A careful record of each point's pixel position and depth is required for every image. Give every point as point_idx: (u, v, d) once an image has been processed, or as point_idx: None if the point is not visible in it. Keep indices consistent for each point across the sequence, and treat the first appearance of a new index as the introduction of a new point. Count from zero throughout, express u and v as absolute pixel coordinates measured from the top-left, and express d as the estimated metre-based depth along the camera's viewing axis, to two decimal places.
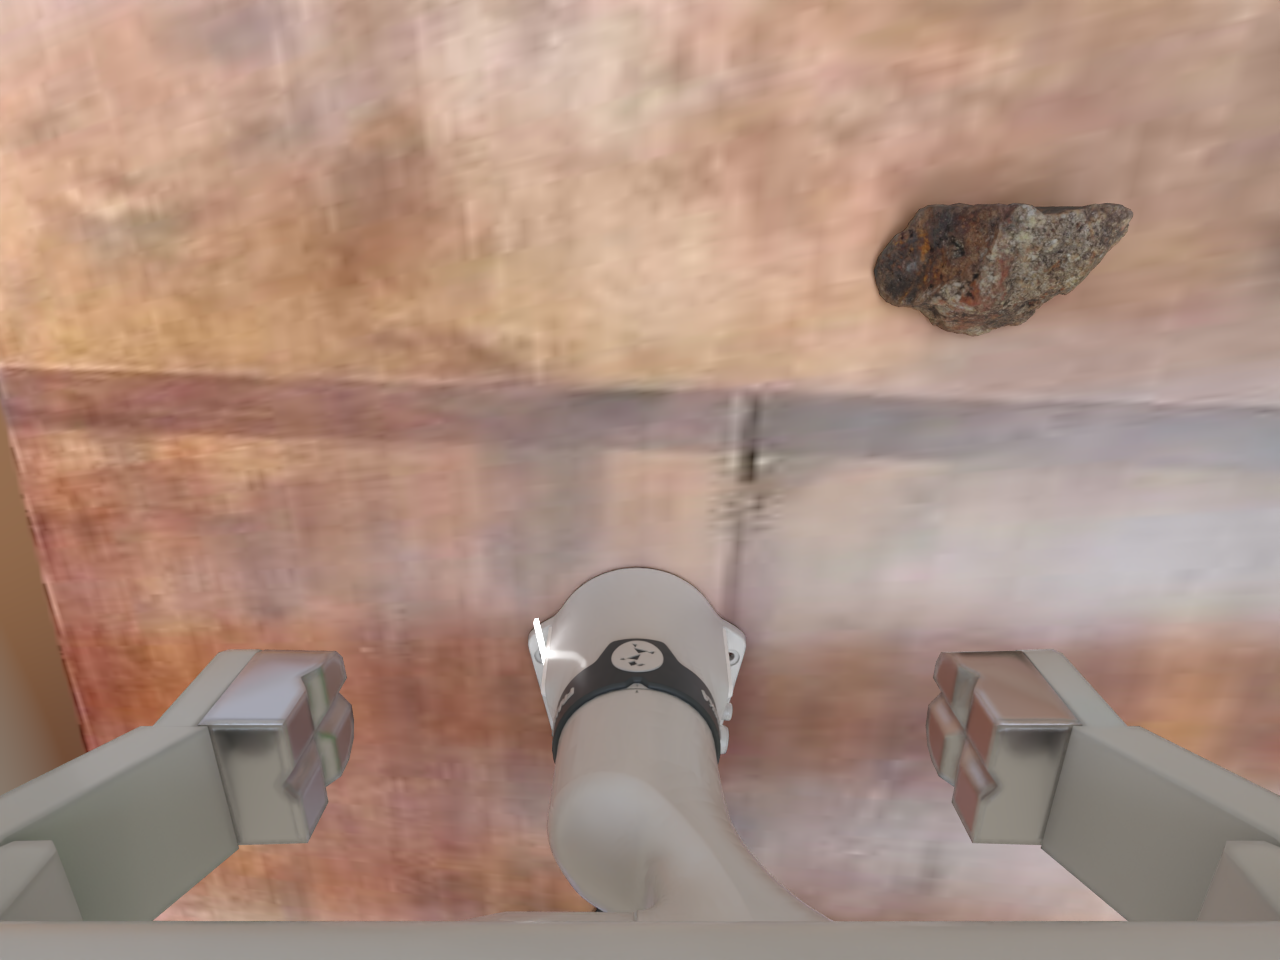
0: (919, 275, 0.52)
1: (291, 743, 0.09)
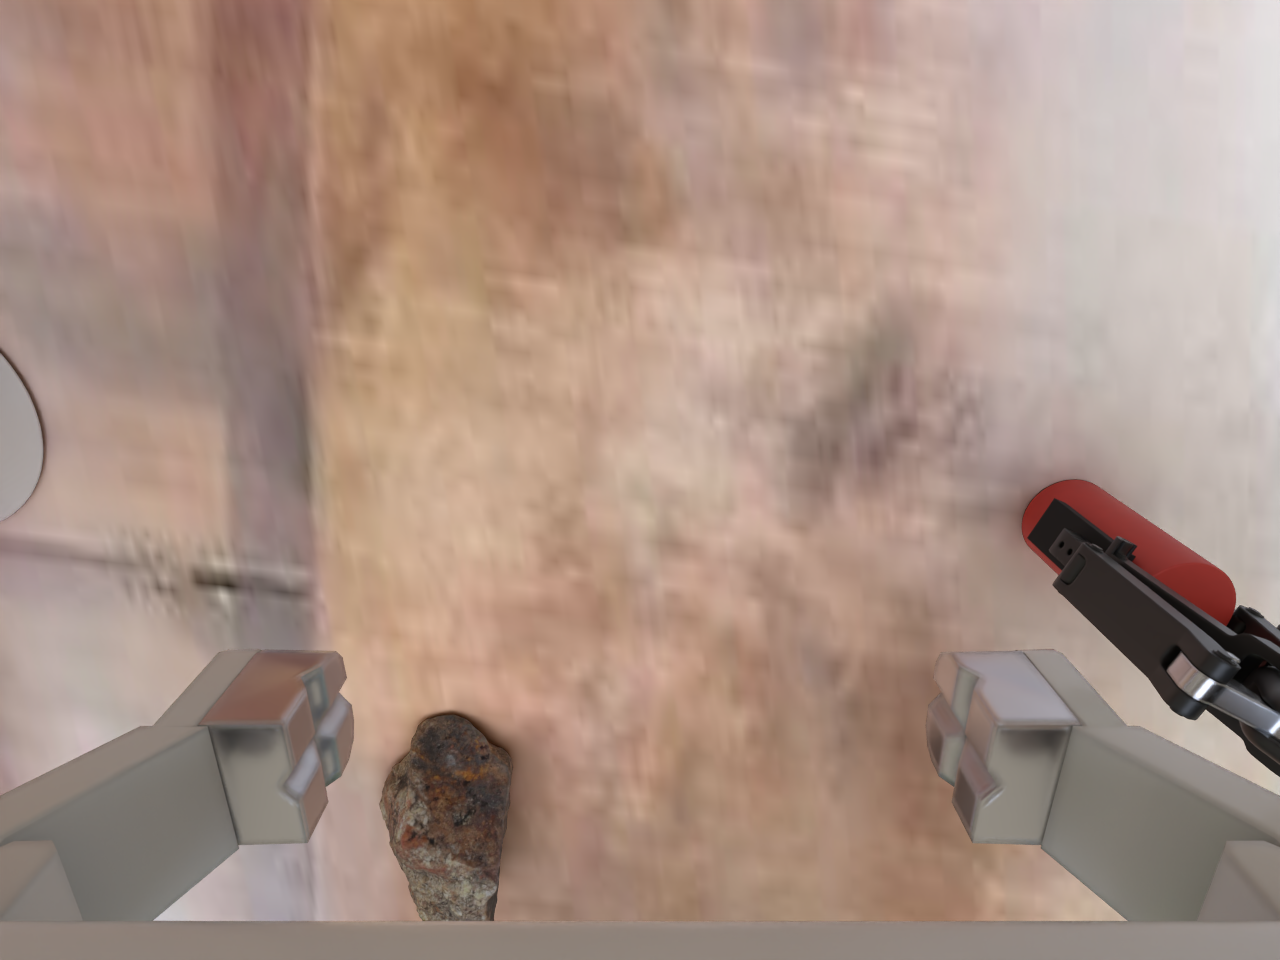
0: (440, 770, 0.49)
1: (291, 742, 0.09)
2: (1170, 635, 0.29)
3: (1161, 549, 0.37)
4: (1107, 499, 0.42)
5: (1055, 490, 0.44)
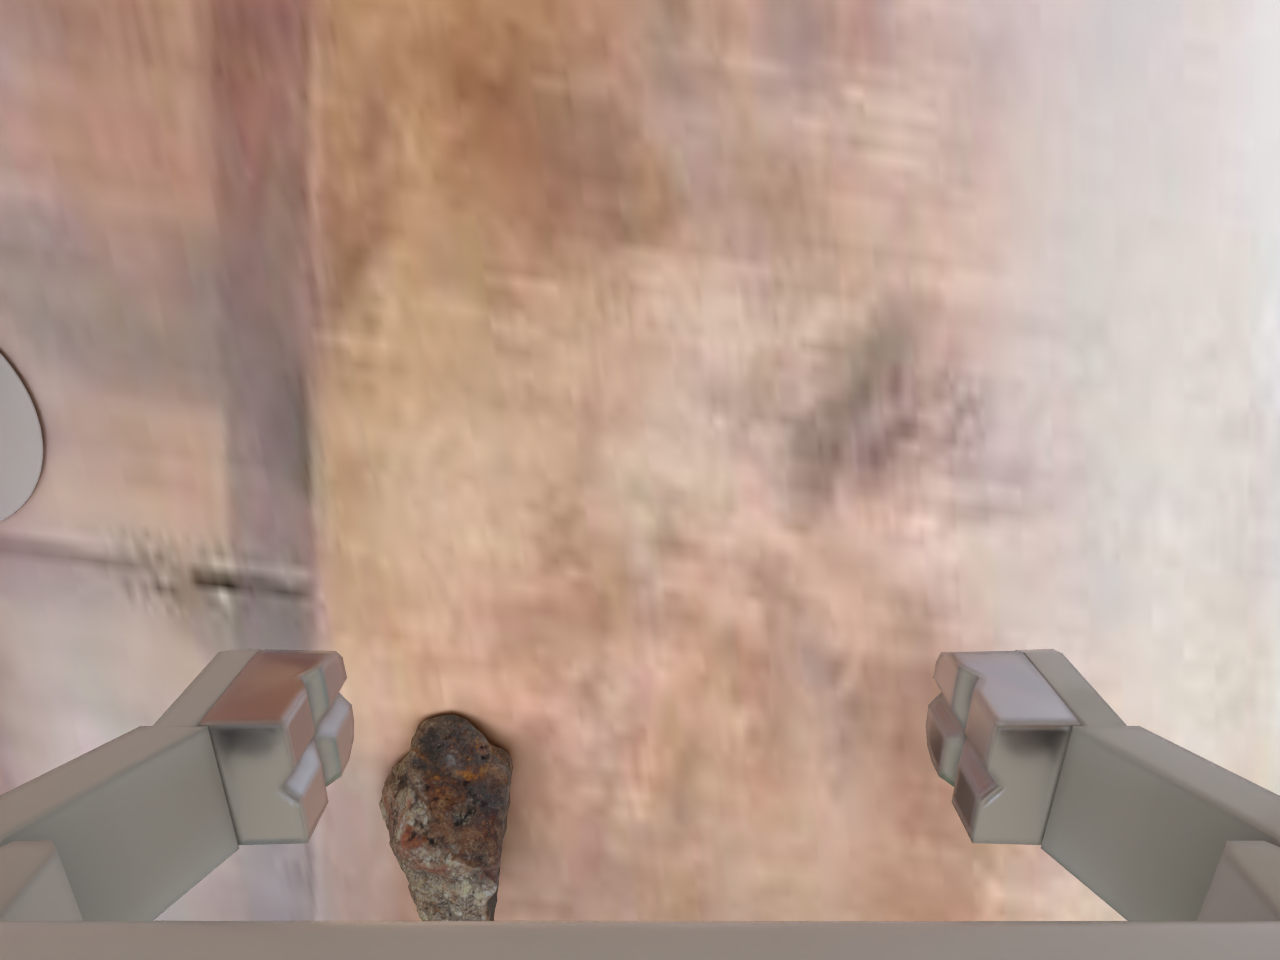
0: (440, 770, 0.49)
1: (292, 742, 0.09)
2: None
3: None
4: None
5: None
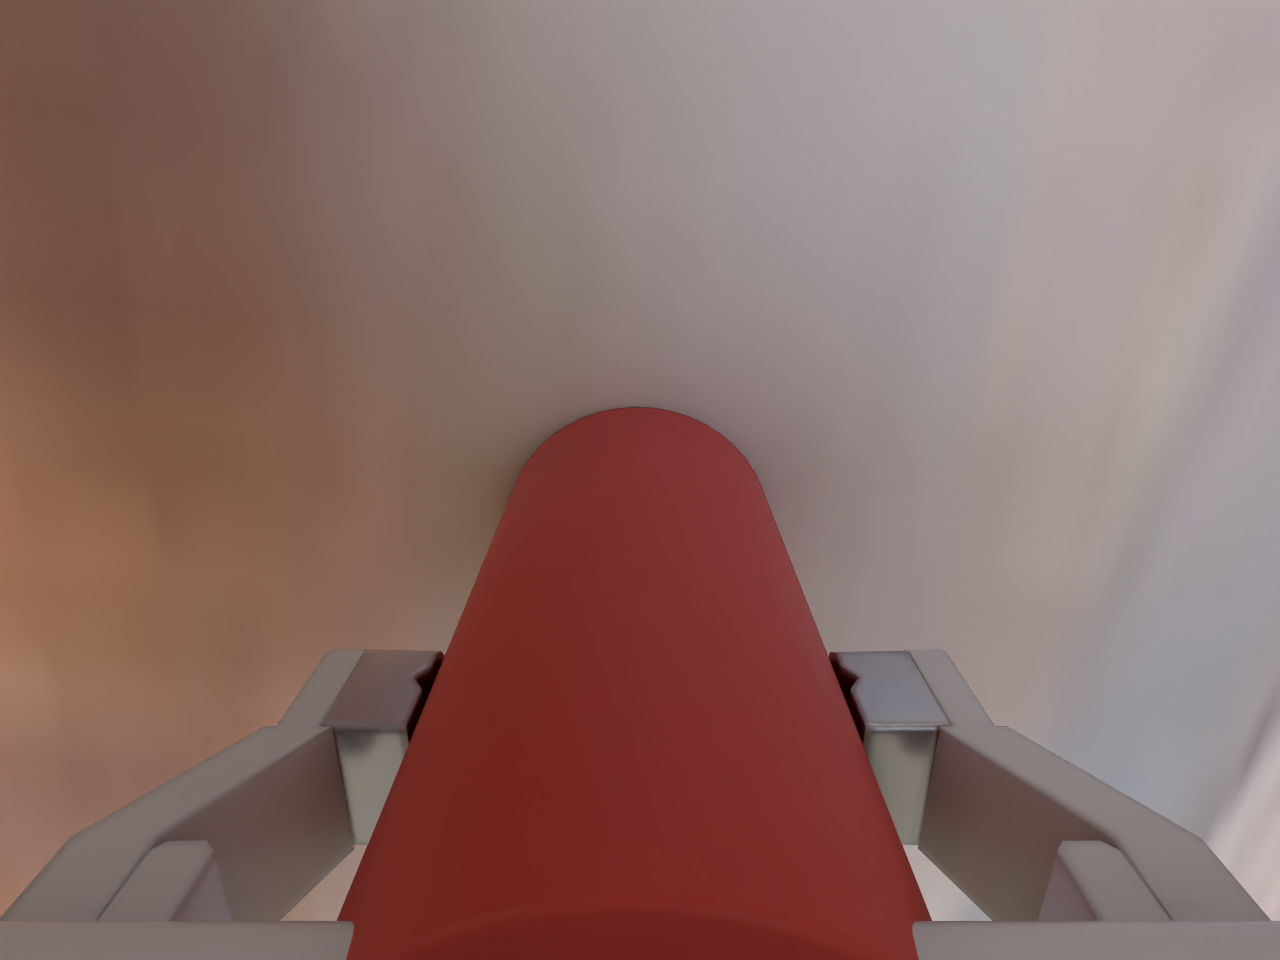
0: None
1: None
2: None
3: None
4: None
5: None
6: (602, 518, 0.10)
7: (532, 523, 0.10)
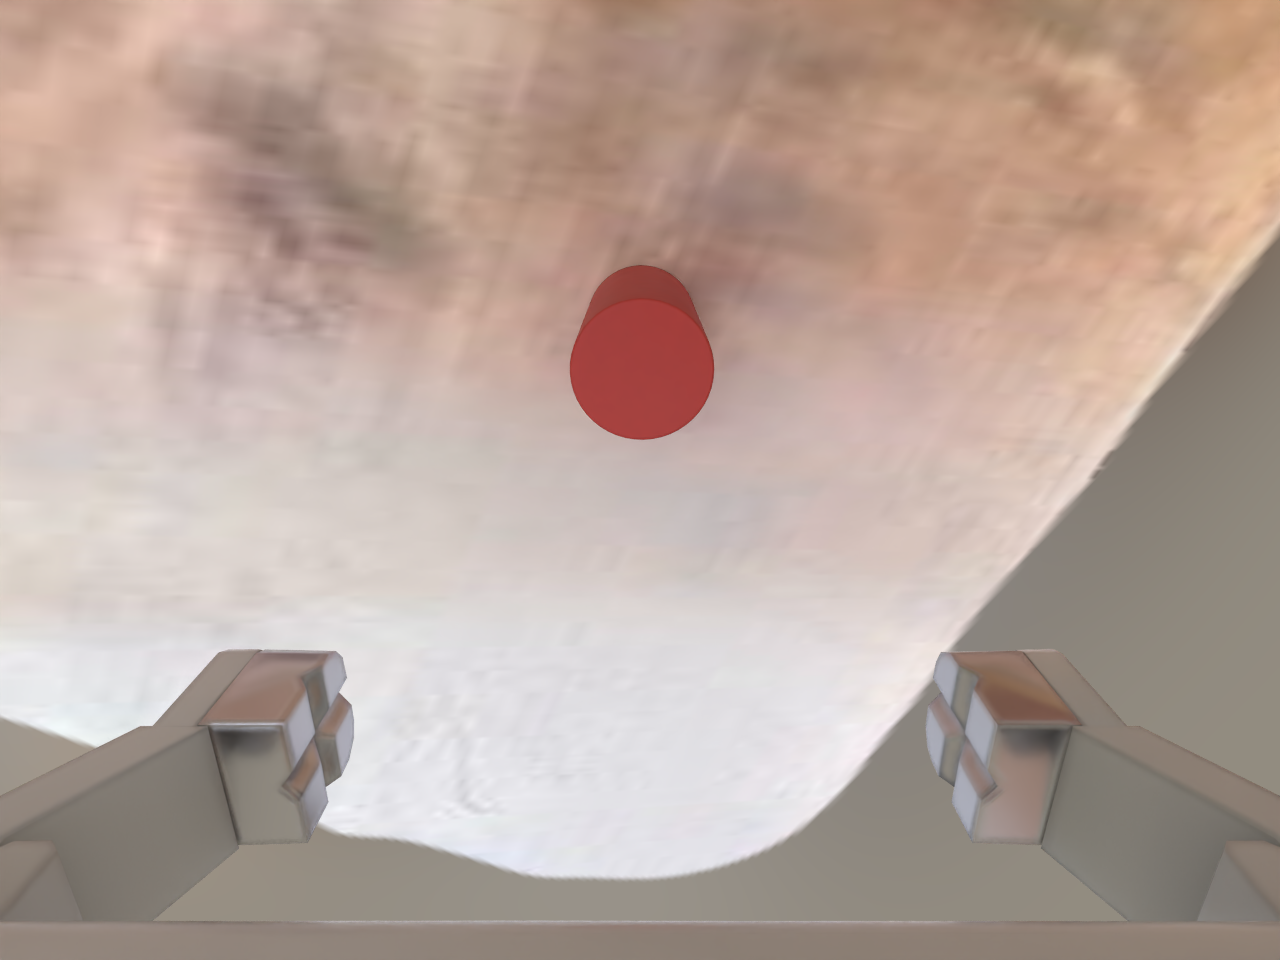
0: None
1: (291, 742, 0.09)
2: None
3: None
4: None
5: None
6: (631, 279, 0.32)
7: (608, 286, 0.32)
